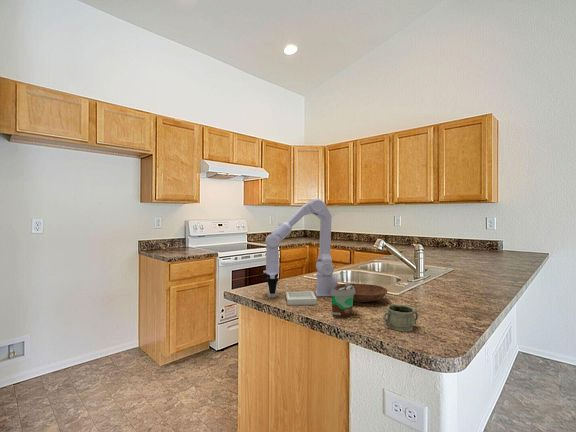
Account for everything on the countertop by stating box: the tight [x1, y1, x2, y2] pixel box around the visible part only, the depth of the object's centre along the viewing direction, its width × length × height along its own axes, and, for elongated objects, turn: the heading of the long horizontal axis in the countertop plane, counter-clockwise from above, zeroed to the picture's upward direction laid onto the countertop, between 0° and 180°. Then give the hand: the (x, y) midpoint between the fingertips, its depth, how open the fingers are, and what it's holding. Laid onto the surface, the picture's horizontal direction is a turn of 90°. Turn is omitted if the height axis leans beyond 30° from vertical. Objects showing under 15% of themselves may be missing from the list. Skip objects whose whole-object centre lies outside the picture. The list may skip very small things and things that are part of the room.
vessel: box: [383, 303, 419, 332], centre depth 100 cm, size 12×9×6 cm
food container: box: [330, 283, 355, 318], centre depth 112 cm, size 12×6×10 cm, turn 143°
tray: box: [285, 290, 318, 307], centre depth 129 cm, size 12×12×2 cm
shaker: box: [266, 281, 278, 299], centre depth 136 cm, size 4×4×7 cm
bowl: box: [335, 283, 388, 303], centre depth 131 cm, size 20×22×5 cm
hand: (272, 291), depth 136 cm, fingers open, 7 cm apart
